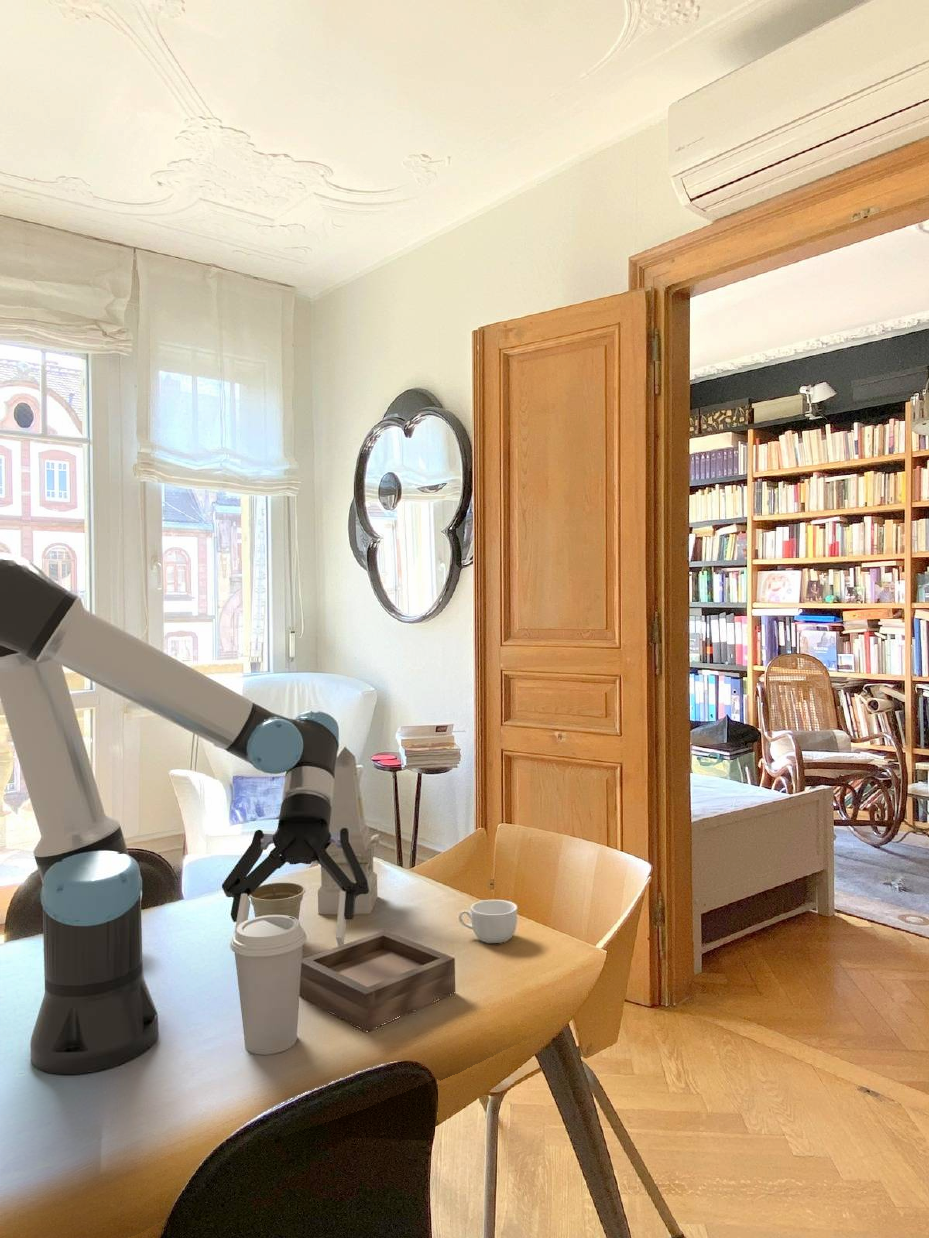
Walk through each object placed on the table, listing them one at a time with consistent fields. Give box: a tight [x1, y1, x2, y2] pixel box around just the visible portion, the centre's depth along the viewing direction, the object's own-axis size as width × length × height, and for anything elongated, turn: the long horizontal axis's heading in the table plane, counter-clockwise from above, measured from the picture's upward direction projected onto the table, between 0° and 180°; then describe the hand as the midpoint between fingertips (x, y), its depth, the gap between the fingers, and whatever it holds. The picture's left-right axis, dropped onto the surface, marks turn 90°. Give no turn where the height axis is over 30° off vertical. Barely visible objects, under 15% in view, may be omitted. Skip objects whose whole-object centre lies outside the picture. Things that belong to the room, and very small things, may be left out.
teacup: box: [458, 899, 518, 944], centre depth 143 cm, size 10×8×5 cm
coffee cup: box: [229, 915, 307, 1056], centre depth 110 cm, size 10×10×15 cm
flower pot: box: [248, 881, 306, 920], centre depth 144 cm, size 9×9×9 cm
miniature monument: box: [313, 746, 380, 915], centre depth 162 cm, size 10×10×30 cm
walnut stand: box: [299, 929, 456, 1032], centre depth 123 cm, size 16×16×5 cm
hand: (288, 943), depth 114 cm, fingers open, 13 cm apart
